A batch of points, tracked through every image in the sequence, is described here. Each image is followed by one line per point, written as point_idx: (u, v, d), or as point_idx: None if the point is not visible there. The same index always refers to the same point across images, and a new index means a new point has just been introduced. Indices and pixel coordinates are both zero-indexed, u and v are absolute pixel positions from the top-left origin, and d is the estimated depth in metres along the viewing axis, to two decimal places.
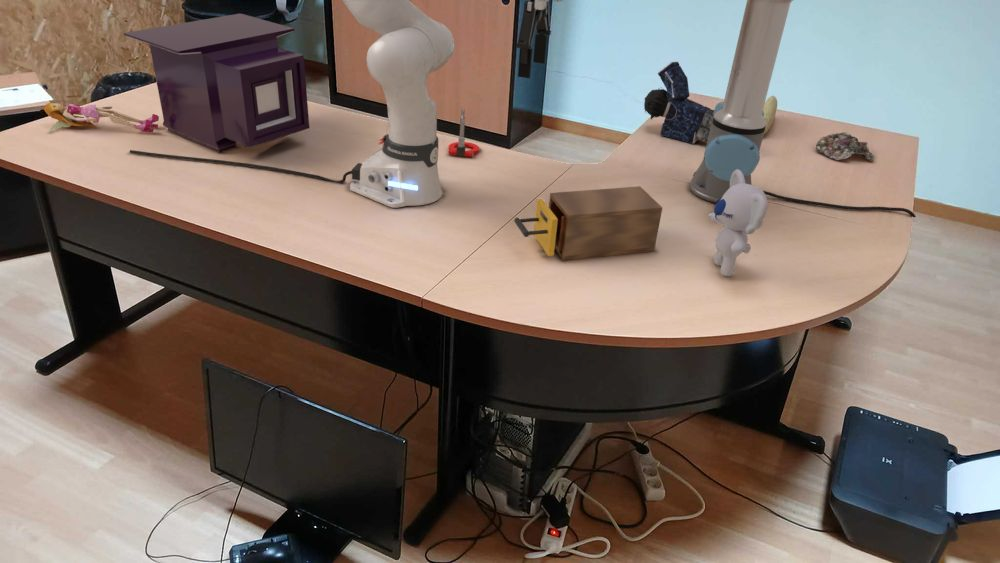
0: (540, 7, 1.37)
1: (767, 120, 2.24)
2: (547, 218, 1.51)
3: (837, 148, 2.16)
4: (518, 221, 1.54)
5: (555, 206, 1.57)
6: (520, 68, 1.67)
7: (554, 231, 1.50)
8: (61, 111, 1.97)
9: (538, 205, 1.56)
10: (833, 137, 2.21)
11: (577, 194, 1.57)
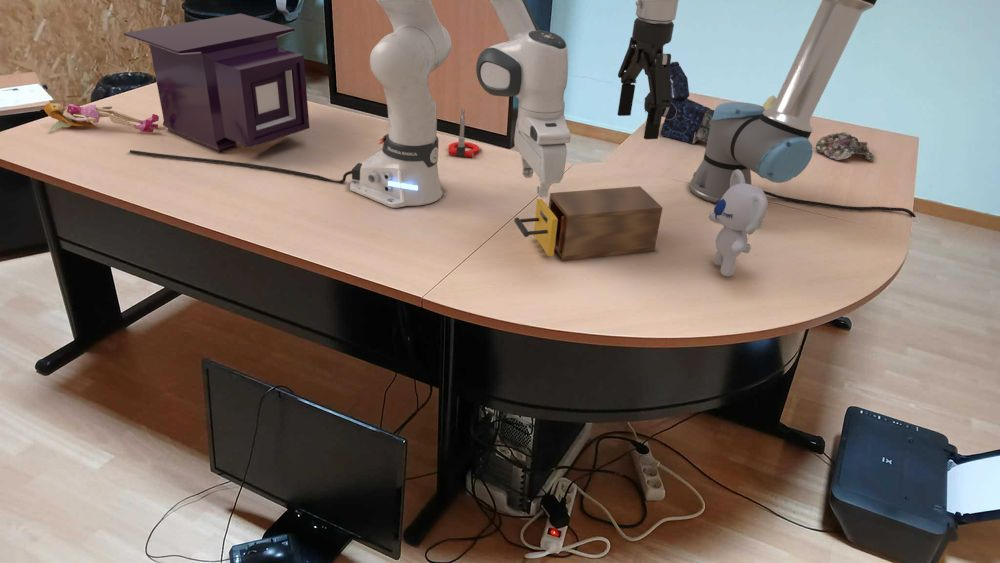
0: (545, 195, 1.44)
1: None
2: (547, 218, 1.51)
3: (837, 148, 2.16)
4: (518, 221, 1.54)
5: (555, 206, 1.57)
6: (649, 130, 1.44)
7: (554, 231, 1.50)
8: (61, 111, 1.97)
9: (538, 205, 1.56)
10: (833, 137, 2.21)
11: (577, 194, 1.57)
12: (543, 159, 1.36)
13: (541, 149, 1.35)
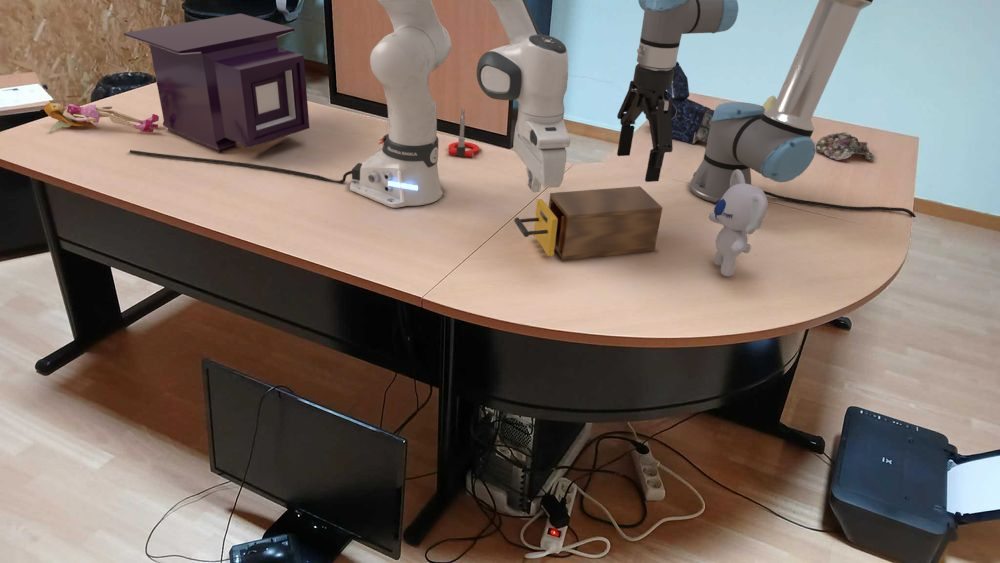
0: (537, 190, 1.48)
1: None
2: (547, 218, 1.51)
3: (837, 148, 2.16)
4: (518, 221, 1.54)
5: (555, 206, 1.57)
6: (650, 172, 1.46)
7: (554, 231, 1.50)
8: (61, 111, 1.97)
9: (538, 205, 1.56)
10: (833, 137, 2.21)
11: (577, 194, 1.57)
12: (543, 163, 1.36)
13: (541, 153, 1.36)
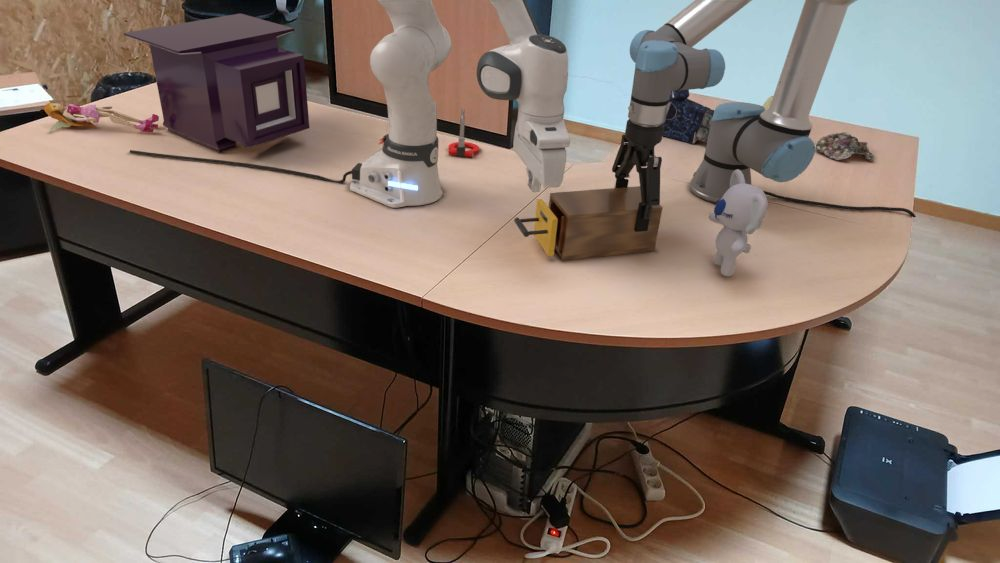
0: (537, 190, 1.48)
1: None
2: (547, 218, 1.51)
3: (837, 148, 2.16)
4: (518, 221, 1.54)
5: (555, 206, 1.57)
6: (639, 223, 1.54)
7: (554, 231, 1.50)
8: (61, 111, 1.97)
9: (538, 205, 1.56)
10: (833, 137, 2.21)
11: (577, 194, 1.57)
12: (543, 163, 1.36)
13: (541, 153, 1.36)
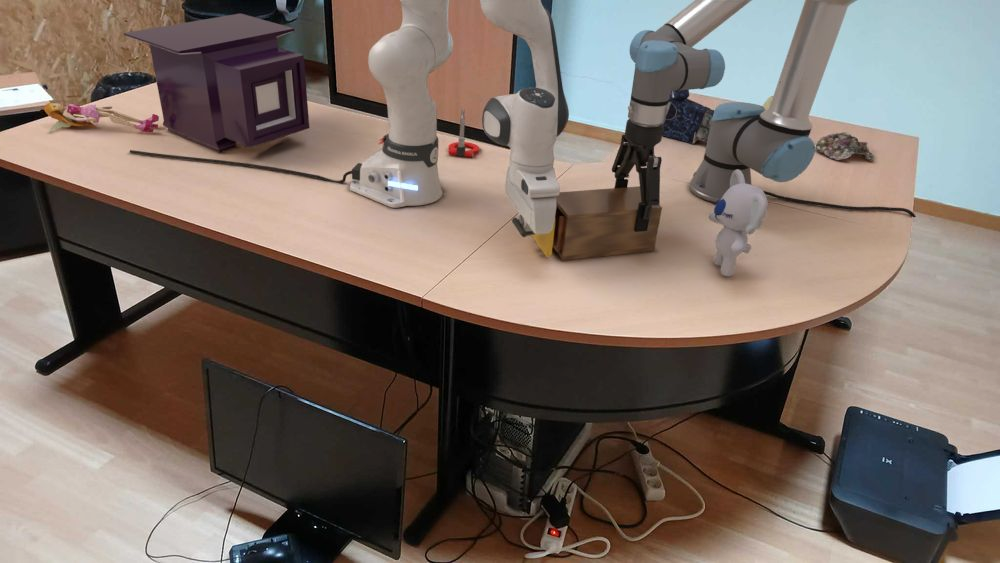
0: None
1: None
2: None
3: (837, 148, 2.16)
4: (516, 221, 1.54)
5: None
6: (639, 223, 1.54)
7: (552, 231, 1.50)
8: (61, 111, 1.97)
9: None
10: (833, 137, 2.21)
11: (577, 194, 1.57)
12: (534, 211, 1.41)
13: (532, 202, 1.41)
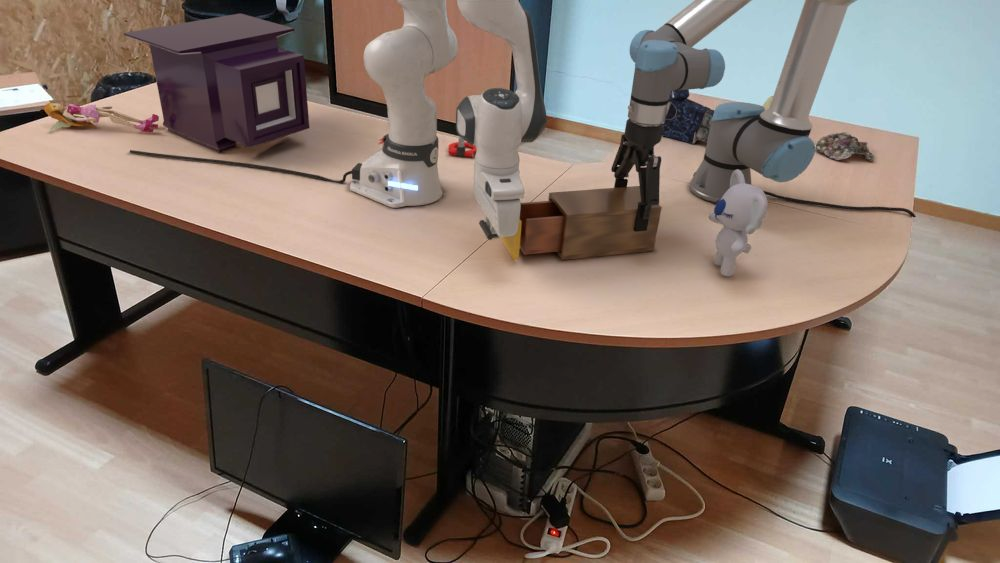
0: None
1: None
2: None
3: (837, 148, 2.16)
4: (483, 224, 1.52)
5: (521, 208, 1.54)
6: (638, 223, 1.54)
7: (518, 234, 1.48)
8: (61, 111, 1.97)
9: None
10: (833, 137, 2.21)
11: (576, 194, 1.57)
12: (497, 214, 1.39)
13: (495, 204, 1.39)
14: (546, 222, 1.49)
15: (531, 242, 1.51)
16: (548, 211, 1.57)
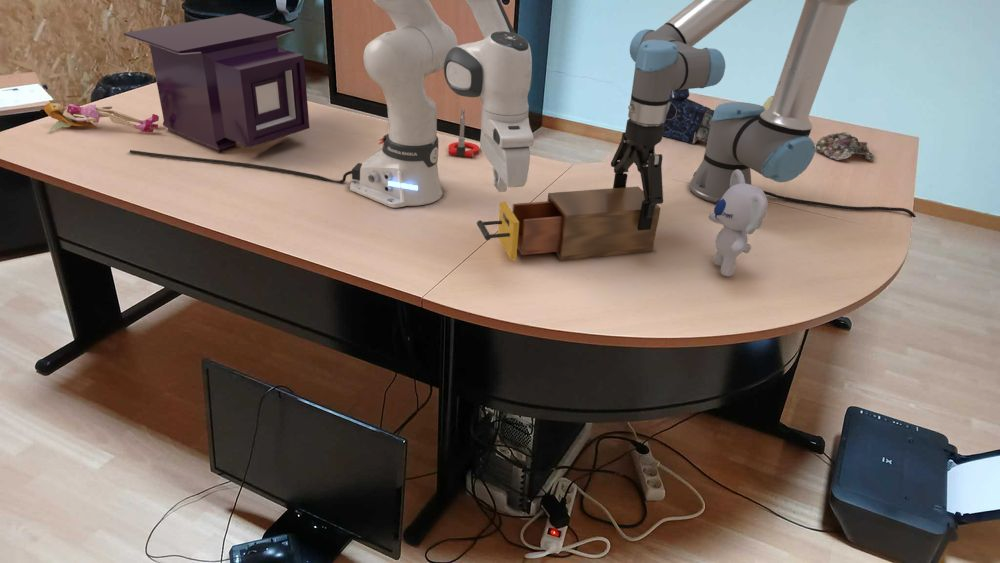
0: (503, 189, 1.45)
1: None
2: (509, 221, 1.49)
3: (837, 148, 2.16)
4: (480, 224, 1.52)
5: (519, 209, 1.54)
6: (642, 222, 1.52)
7: (516, 234, 1.48)
8: (61, 111, 1.97)
9: (501, 208, 1.54)
10: (833, 137, 2.21)
11: (575, 194, 1.57)
12: (506, 162, 1.34)
13: (504, 152, 1.33)
14: (543, 222, 1.49)
15: (529, 242, 1.51)
16: (546, 211, 1.57)
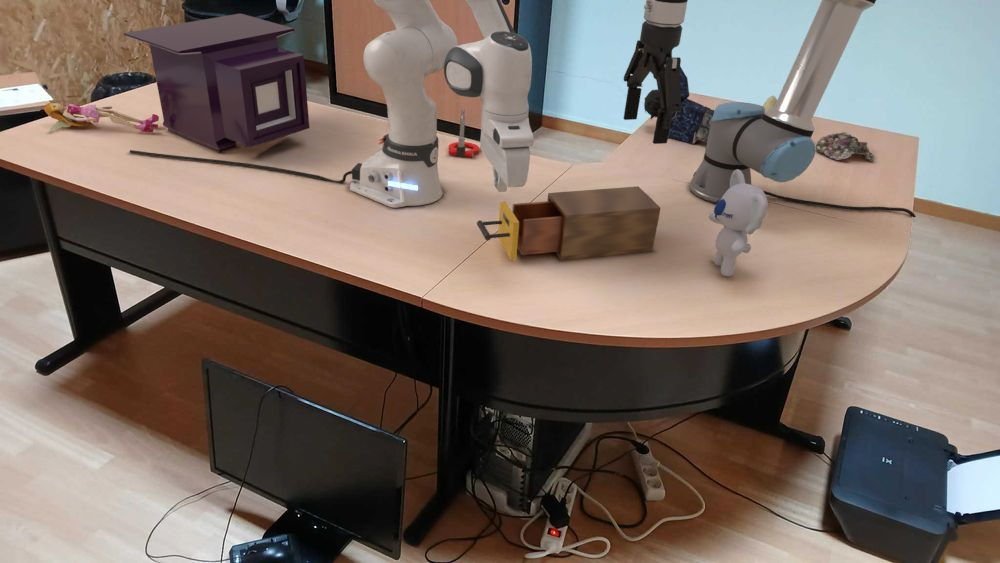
0: (503, 189, 1.45)
1: None
2: (509, 221, 1.49)
3: (837, 148, 2.16)
4: (480, 224, 1.52)
5: (519, 209, 1.54)
6: (658, 134, 1.42)
7: (516, 234, 1.48)
8: (61, 111, 1.97)
9: (501, 208, 1.54)
10: (833, 137, 2.21)
11: (575, 194, 1.57)
12: (506, 162, 1.34)
13: (504, 152, 1.33)
14: (543, 222, 1.49)
15: (529, 242, 1.51)
16: (546, 211, 1.57)
